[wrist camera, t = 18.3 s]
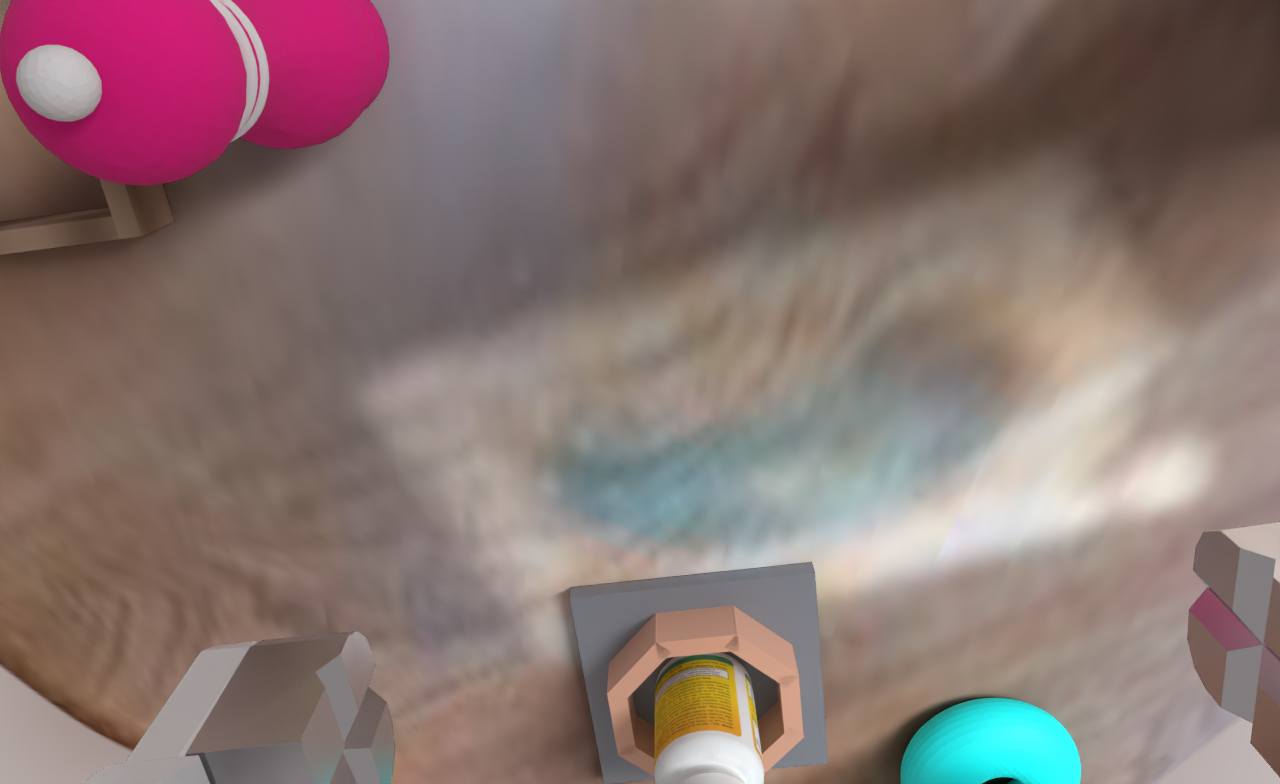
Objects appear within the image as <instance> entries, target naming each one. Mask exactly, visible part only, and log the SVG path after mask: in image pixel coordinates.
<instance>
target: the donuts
mask: <svg viewBox="0 0 1280 784" xmlns="http://www.w3.org/2000/svg"><path fill="white" fill-rule="evenodd" d="M998 777H1010V778H1014V779H1013V780H1011V781H1010V782H1009V783H1007V784H1080V778H1081V764H1080V758H1079V754H1078V751H1077V748H1076V745H1075V743H1074V741H1073V739H1072V738H1071V736H1070V734H1069V733H1068V731H1067V730H1066V729H1065V728H1064V726H1063V725H1062V724H1061V723H1060V722H1058V721H1057V720H1056V719H1055V718H1054V717H1053V716H1051V715H1050V714H1049V713H1047V712H1046V711H1044V710H1042V709H1040V708H1038V707H1036V706H1033V705H1031V704H1029V703H1026V702H1023V701H1019V700H1014V699H1008V698H981V699H975V700H970V701H966V702H963V703H960V704H957V705H954V706H952V707H950V708H948V709H946V710H944V711H942V712H940V713H939V714H937V715H935V716H934V717H932V718H931V719H930V720H929V721H927V722H926V723H925V724H924V725H923V726H922V727H921V728H920V729H919V730H918V731H917V732H916V734H915V735H914V736H913V738H912V739H911V741H910V743H909V744H908V746H907V749H906V751H905V753H904V756H903V759H902V764H901V778H900V780H901V784H982V783H984V782H986V781H988V780H990V779H993V778H998Z"/></svg>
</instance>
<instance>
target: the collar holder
mask: <svg viewBox="0 0 1280 784" xmlns="http://www.w3.org/2000/svg"><path fill="white" fill-rule="evenodd" d="M569 599H570V605H571V610H572V615H573V621H574V626H575V631H576V637H577V642H578V647H579V652H580V658H581V663H582V668H583V674H584V679H585V684H586V690H587V695H588V700H589V705H590V711H591V716H592V721H593V727H594V732H595V737H596V743H597V748H598V753H599V759H600V764H601V769H602V774H603V780H604V784H611V783H622V782H633V781H643V780H654V779H655V776H654V756H655V686H656V681H657V678H658V675H659V673H660V671H661V669H662V668H663V667H664V666H665V665H666V664H667V663H668V662H669V661H670V660H671V659H673V658H674V657H680V656H690V655H700V654H710V653H720V652H722V653H725V654H728V655H729V656H731V657H733V658H735V659H736V660H737V661H738V662H739V663H741V664H742V666H743V667H744V668H745V669H746V671H747V673H748V674H749V677H750V680H751V683H752V689H753V695H754V701H755V708H756V716H757V723H758V731H759V738H760V745H761V752H762V759H763V768H764V774H765V773H766V772H767V771H768V770H769V769H774V768H785V767H796V766H807V765H817V764H828V755H827V741H826V726H825V711H824V697H823V682H822V668H821V653H820V639H819V624H818V610H817V595H816V581H815V571H814V568H813V564H812V562H810V563H801V564H791V565H781V566H772V567H762V568H753V569H743V570H733V571H724V572H714V573H705V574H695V575H686V576H676V577H666V578H657V579H647V580H638V581H628V582H618V583H609V584H599V585H590V586H580V587H571V589H570V597H569Z"/></svg>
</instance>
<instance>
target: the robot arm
mask: <svg viewBox="0 0 1280 784" xmlns="http://www.w3.org/2000/svg"><path fill="white" fill-rule="evenodd" d="M1193 571H1194V572H1195V573H1196V574H1197V576H1198V577H1199V578H1200V579H1201V580H1202V582H1203V583H1204V584H1205V585H1206V587H1207V589H1206V590H1205V591H1204V592H1203V593H1202V595H1201V596H1200V597H1199V598H1198V599H1197V600H1196V602H1195V603H1194V604H1193V605H1192V606H1191V608H1190V609H1189V617H1188V636H1187V640H1188V644H1189V648H1190V652H1191V656H1192V660H1193V664H1194V668H1195V670H1196V672H1197V673H1198V675H1199V677H1200V679H1201V681H1202V683H1203V685H1204V687H1205V689H1206V690H1207V691H1208V692H1209V694H1210V695H1211V696H1212V697H1213V698H1214V700H1215V701H1216V702H1217V703H1218V705H1219V706H1220V707H1221V708H1223V709H1225V710H1227V711H1229V712H1231V713H1233V714H1235V715H1237V716H1239V717H1241V718H1243V719H1245V720H1247V721H1249V722H1251V723H1253V726H1252V734H1251V742H1250V743H1251V744H1252V745H1253V746H1254V747H1255V749H1256V750H1257V751H1258V752H1259V753H1260V754H1261V756H1262V757H1263V758H1264V759H1265V761H1266V762H1267V763H1268V764H1269V765H1270V766H1271V768H1272V769H1273V770H1274V771H1275V772H1276V773H1277V775H1278V776H1279V777H1280V522H1273V523H1266V524H1259V525H1251V526H1244V527H1236V528H1229V529H1221V530H1214V531H1207V532H1203V533H1202V535H1201V537H1200V539H1199V541H1198V543H1197V545H1196V548H1195V556H1194V565H1193ZM375 667H376V665H375V662H374V659H373V656H372V653H371V650H370V647H369V644H368V641H367V638H365V637H364V636H363V635H362V634H360V633H359V632H358V631H352V632H342V633H332V634H322V635H311V636H301V637H291V638H281V639H270V640H262V641H260V642H257V641H249V642H242V643H234V644H226V645H218V646H213V647H210V648H208V649H206V650H203V651H201V652H200V654H199V655H198V656H197V658H196V659H195V661H194V662H193V664H192V665H191V667H190V668H189V670H188V671H187V672H186V674H185V675H184V677H183V678H182V680H181V681H180V683H179V684H178V686H177V687H176V689H175V690H174V692H173V693H172V694H171V696H170V697H169V699H168V700H167V702H166V703H165V705H164V706H163V708H162V709H161V711H160V712H159V714H158V715H157V716H156V718H155V719H154V721H153V722H152V724H151V725H150V727H149V728H148V730H147V731H146V733H145V734H144V736H143V737H142V738H141V740H140V741H139V743H138V744H137V746H136V747H135V749H134V750H133V752H132V753H131V755H130V756H129V758H128V759H127V760H126V762H125V763H123V764H115V765H108V766H106V767H105V768H103V769H102V770H100V771H99V772H97V773H96V774H95V775H93V776H91V777H90V778H88V779H87V780H85V781H84V782H82V783H81V784H391V781H392V778H393V770H394V756H395V740H394V732H393V724H392V719H391V716H390V712H389V709H388V705H387V702H386V701H385V700H384V699H382V698H381V697H380V696H379V695H377V694H376V693H375V692H374V691H372V690H371V689H370V688H369V687H368V685H369V682H370V680H371V677H372V674H373V672H374V669H375Z"/></svg>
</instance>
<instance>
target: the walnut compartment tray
mask: <svg viewBox="0 0 1280 784" xmlns="http://www.w3.org/2000/svg"><path fill="white" fill-rule="evenodd" d="M99 180H100V183H101V186H102V189H103V192H104V195H105V198H106V201H107V203H108V206H109V208H101V209H93V210H86V211H78V212H71V213H63V214H55V215H48V216H40V217H33V218H25V219H18V220H10V221H2V222H0V255H2V254H10V253H18V252H25V251H33V250H41V249H48V248H56V247H64V246H72V245H79V244H87V243H95V242H102V241H110V240H118V239H126V238H133V237H141V236H144V235H146V234H148V233H150V232H153V231H155V230H157V229H159V228H161V227H163V226H165V225H168V224H170V223H172V222H174V218H173V215H172V212H171V209H170V206H169V202H168V199H167V196H166V193H165V190H164V187H163V184H155V185H148V186H146V185H130V184H120V183H113V182H109V181H105V180H101V179H99Z"/></svg>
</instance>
